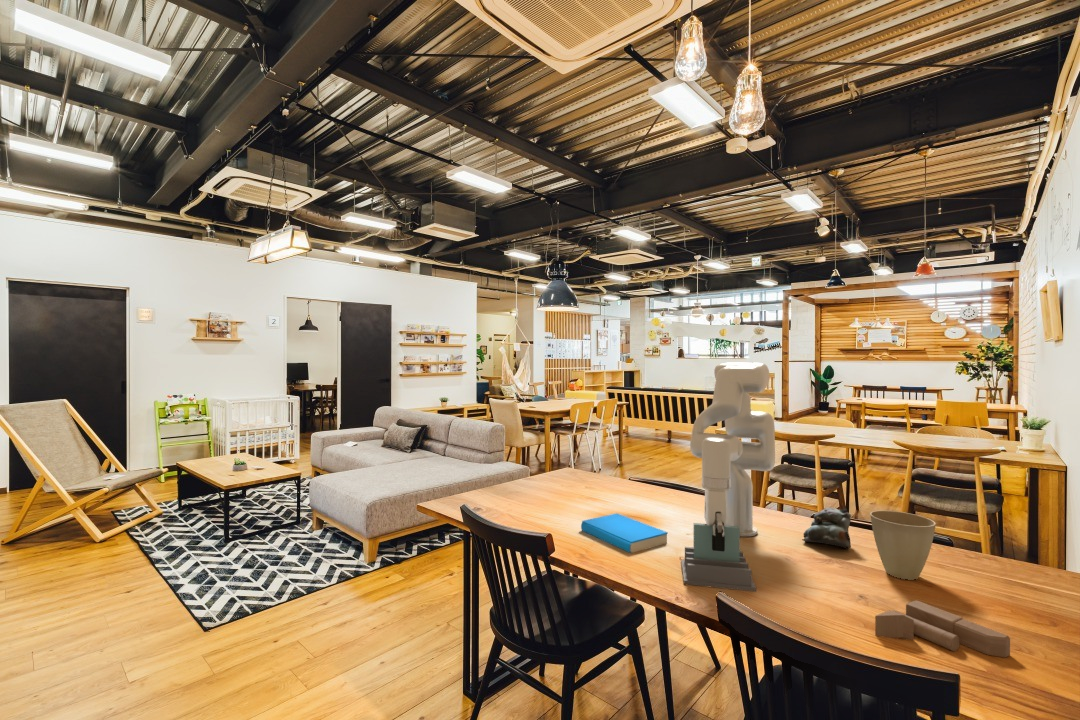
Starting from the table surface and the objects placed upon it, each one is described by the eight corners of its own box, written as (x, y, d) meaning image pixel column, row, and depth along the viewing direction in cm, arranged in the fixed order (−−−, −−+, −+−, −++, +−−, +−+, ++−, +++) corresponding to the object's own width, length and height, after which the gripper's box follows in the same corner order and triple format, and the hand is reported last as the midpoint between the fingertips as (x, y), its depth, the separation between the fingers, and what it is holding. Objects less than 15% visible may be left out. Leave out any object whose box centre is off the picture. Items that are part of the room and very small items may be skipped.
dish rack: (681, 562, 147) (681, 545, 147) (745, 568, 143) (745, 550, 143) (684, 584, 133) (684, 565, 133) (756, 591, 129) (756, 572, 129)
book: (616, 513, 185) (668, 531, 164) (616, 524, 185) (668, 544, 164) (580, 520, 175) (630, 541, 154) (580, 533, 175) (630, 555, 154)
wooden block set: (911, 593, 117) (1011, 630, 101) (911, 617, 117) (1011, 658, 101) (869, 609, 109) (970, 651, 93) (869, 635, 109) (970, 681, 93)
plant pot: (945, 590, 130) (945, 529, 130) (878, 581, 135) (878, 522, 135) (923, 568, 144) (923, 513, 144) (864, 561, 149) (863, 507, 149)
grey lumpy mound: (793, 539, 167) (799, 499, 172) (823, 552, 168) (828, 511, 173) (829, 541, 153) (833, 497, 158) (861, 555, 154) (865, 511, 159)
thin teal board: (693, 568, 140) (693, 522, 140) (738, 573, 138) (738, 526, 138) (693, 571, 139) (693, 524, 139) (739, 575, 136) (739, 527, 136)
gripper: (699, 475, 148) (699, 532, 147) (705, 489, 131) (705, 554, 131) (726, 476, 146) (726, 534, 146) (735, 491, 129) (735, 557, 129)
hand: (716, 544), depth 138 cm, fingers open, 9 cm apart
